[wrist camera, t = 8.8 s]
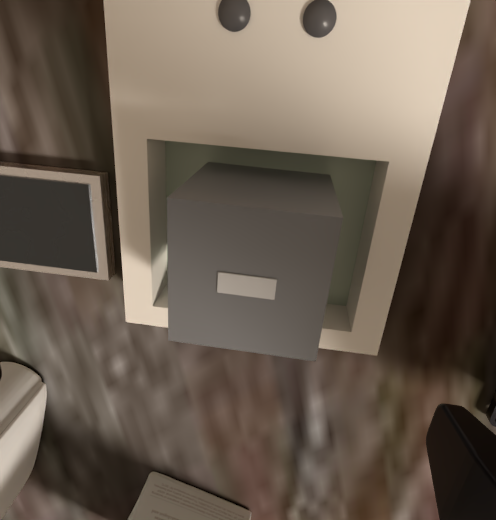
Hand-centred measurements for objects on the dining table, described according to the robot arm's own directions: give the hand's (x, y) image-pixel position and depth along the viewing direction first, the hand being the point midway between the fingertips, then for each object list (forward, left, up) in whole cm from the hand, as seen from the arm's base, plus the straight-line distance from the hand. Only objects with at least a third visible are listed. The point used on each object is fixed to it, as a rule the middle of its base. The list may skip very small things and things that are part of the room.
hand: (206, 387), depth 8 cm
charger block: (0, 0, -10) cm, 10 cm away
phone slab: (+11, +1, -11) cm, 15 cm away
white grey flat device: (0, -3, -11) cm, 11 cm away
